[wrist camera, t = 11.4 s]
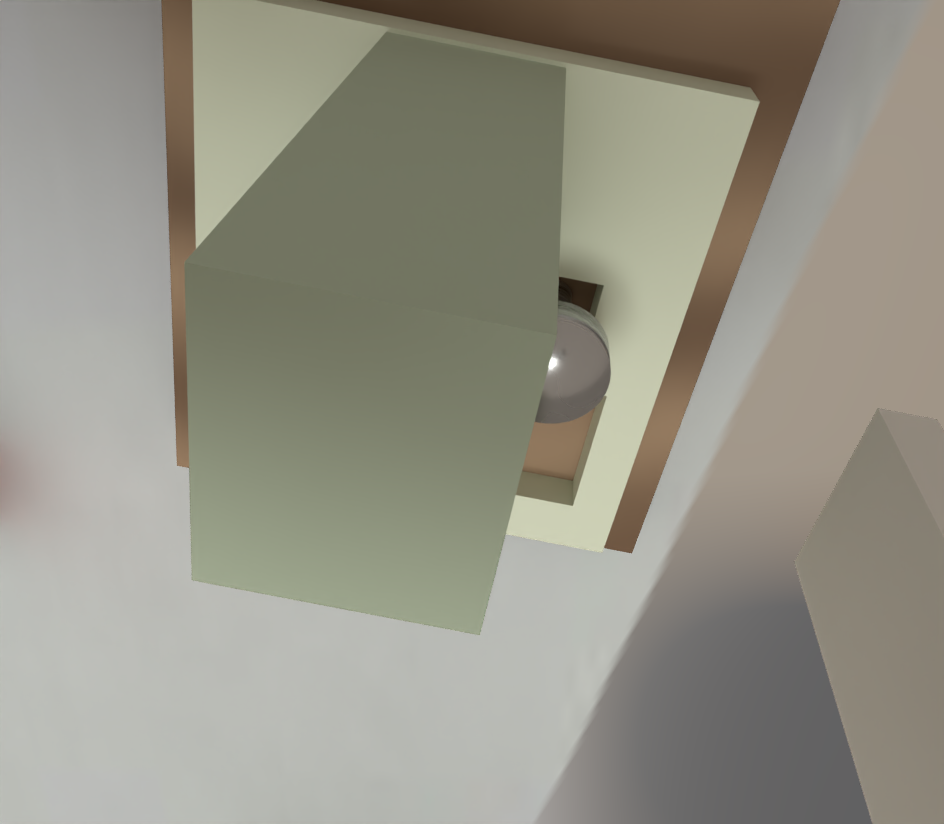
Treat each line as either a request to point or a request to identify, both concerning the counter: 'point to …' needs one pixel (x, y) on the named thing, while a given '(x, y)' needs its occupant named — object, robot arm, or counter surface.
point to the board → (560, 445)
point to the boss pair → (575, 364)
